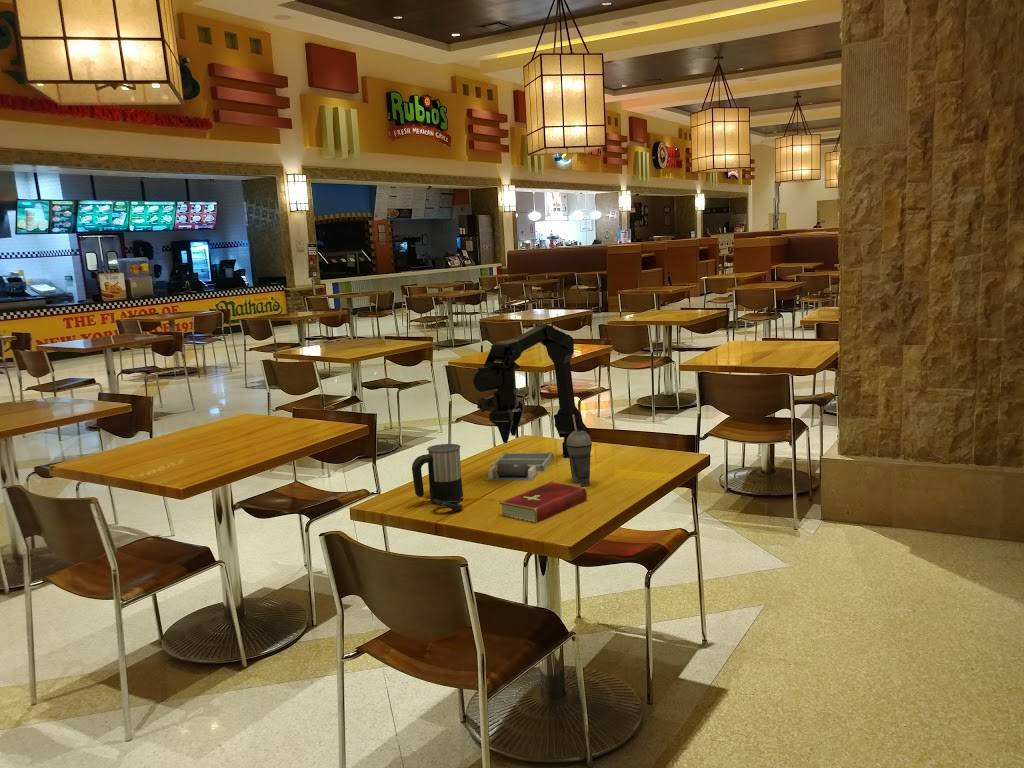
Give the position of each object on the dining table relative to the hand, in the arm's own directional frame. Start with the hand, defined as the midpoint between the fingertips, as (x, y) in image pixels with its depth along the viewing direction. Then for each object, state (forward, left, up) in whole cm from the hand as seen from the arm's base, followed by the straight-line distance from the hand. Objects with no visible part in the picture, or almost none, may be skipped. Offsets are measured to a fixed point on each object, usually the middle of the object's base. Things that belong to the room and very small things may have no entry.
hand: (509, 439), depth 240 cm
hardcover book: (-15, +26, -13) cm, 32 cm away
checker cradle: (0, 0, -12) cm, 12 cm away
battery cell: (0, 0, -11) cm, 11 cm away
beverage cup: (-21, +5, -12) cm, 25 cm away
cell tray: (0, -13, -12) cm, 18 cm away
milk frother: (+12, +24, -12) cm, 29 cm away
